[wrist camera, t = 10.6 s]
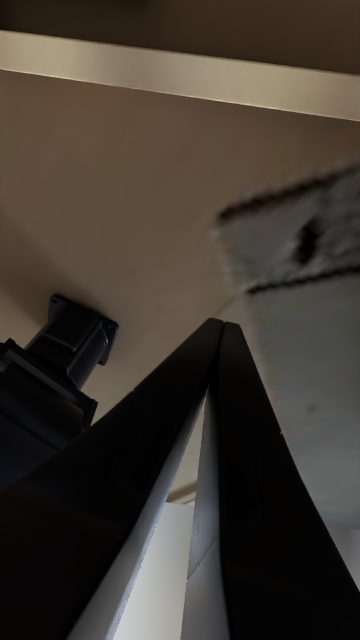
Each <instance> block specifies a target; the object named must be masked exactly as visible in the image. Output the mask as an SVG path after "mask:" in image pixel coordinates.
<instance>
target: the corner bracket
mask: <svg viewBox="0 0 360 640" xmlns="http://www.w3.org/2000/svg"><path fill="white" fill-rule="evenodd" d="M0 69H2V70H9V71H16V72H23V73H30V74H37V75H43V76H50V77H57V78H64V79H71V80H78V81H85V82H92V83H98V84H105V85H112V86H119V87H126V88H133V89H140V90H147V91H153V92H160V93H167V94H174V95H181V96H188V97H195V98H202V99H208V100H215V101H222V102H229V103H236V104H243V105H250V106H257V107H263V108H270V109H277V110H284V111H291V112H298V113H305V114H312V115H318V116H325V117H332V118H339V119H346V120H353V121H360V75H358V74H350V73H342V72H334V71H327V70H319V69H311V68H303V67H295V66H287V65H279V64H271V63H263V62H255V61H247V60H239V59H231V58H223V57H215V56H207V55H200V54H192V53H184V52H176V51H168V50H160V49H152V48H144V47H136V46H128V45H120V44H112V43H104V42H96V41H88V40H81V39H73V38H65V37H57V36H49V35H41V34H33V33H25V32H17V31H9V30H1V29H0Z"/></svg>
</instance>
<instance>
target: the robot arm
mask: <svg viewBox="0 0 360 640" xmlns="http://www.w3.org/2000/svg"><path fill="white" fill-rule="evenodd" d="M118 328H119V326H118V324H117V323H116V322H114V321H112V320H110V319H108V318H105V317H103V316H101V315H99V314H97V313H95V312H93V311H91V310H89V309H86V308H84V307H82V306H80V305H78V304H76V303H74V302H72V301H69V300H67V299H65V298H63V297H61V296H59V295H56V294H54V295H52V296H51V297H50V299H49V310H48V322H47V323H46V324H45V326H44V327H43V328H42V329H41V330H40V331H39V332H38V333H37V334H36V335H35V337H34V338H33V339H32V340H31V341H30V342H29V343H28V344H27V345H26V346H25V348H24V349H23V348H21V347H20V346H19V345H17V344H16V343H15V341H14V340H12V339H11V338H9V339H8V340H7V341H6V342H5V343H2V342H1V343H0V640H113V637H114V634H115V632H116V629H117V626H118V624H119V621H120V619H121V616H122V614H123V611H124V608H125V606H126V603H127V601H128V598H129V595H130V592H131V590H132V588H133V585H134V582H135V580H136V577H137V574H138V572H139V569H140V567H141V563H142V561H143V559H144V556H145V554H146V551H147V548H148V546H149V543H150V541H151V538H152V535H153V533H154V530H155V527H156V525H157V522H158V520H159V517H160V514H161V512H162V509H163V506H164V504H165V501H166V499H167V496H168V494H169V491H170V488H171V486H172V483H173V481H174V478H175V475H176V473H177V470H178V468H179V465H180V462H181V460H182V457H183V455H184V452H185V449H186V447H187V444H188V441H189V439H190V436H191V434H192V431H193V428H194V426H195V423H196V421H197V418H198V415H199V413H200V410H201V408H202V405H203V402H204V399H205V396H206V393H207V396H206V403H205V412H204V421H203V431H202V440H201V450H200V459H199V469H198V479H197V488H196V498H195V507H194V517H193V527H192V536H191V546H190V556H189V564H188V574H187V580H188V581H187V583H186V594H185V603H184V612H183V621H182V631H181V640H360V591H359V590H358V588H357V586H356V584H355V582H354V580H353V578H352V577H351V574H350V573H349V571H348V569H347V567H346V565H345V563H344V561H343V559H342V557H341V555H340V553H339V551H338V550H337V547H336V545H335V544H334V542H333V540H332V538H331V536H330V534H329V532H328V530H327V528H326V526H325V524H324V522H323V520H322V518H321V517H320V515H319V513H318V511H317V509H316V507H315V505H314V503H313V501H312V499H311V497H310V495H309V493H308V491H307V489H306V487H305V485H304V483H303V481H302V479H301V477H300V475H299V472H298V470H297V468H296V465H295V463H294V461H293V458H292V456H291V454H290V451H289V449H288V446H287V444H286V441H285V438H284V436H283V434H281V429H280V426H279V424H278V421H277V418H276V416H275V413H274V411H273V408H272V406H271V403H270V401H269V398H268V396H267V393H266V390H265V388H264V385H263V383H262V380H261V378H260V375H259V373H258V370H257V368H256V365H255V362H254V360H253V357H252V355H251V352H250V350H249V347H248V345H247V342H246V340H245V337H244V334H243V332H242V329H241V327H240V325H239V324H236V323H231V322H227V321H226V322H225V323H224V322H223V320H219V319H215V318H209V319H207V320H206V321H205V322H204V323H203V324H202V325H201V326H200V327H199V328H198V329H197V330H196V331H195V332H194V333H193V334H192V335H190V336H189V337H188V338H187V339H186V340H185V341H184V342H183V343H182V344H181V345H180V346H179V347H178V348H177V349H176V350H175V351H174V352H172V353H171V354H170V355H169V356H168V357H167V358H166V359H165V360H164V361H163V362H162V363H161V364H160V365H159V366H158V367H157V368H156V369H154V370H153V371H152V372H151V373H150V374H149V375H148V376H147V377H146V378H145V379H144V380H143V381H142V382H141V383H140V384H139V385H138V386H136V387H135V388H134V392H133V391H131V392H130V393H129V394H128V395H127V396H126V397H125V398H124V399H123V400H121V401H120V402H119V403H118V404H117V405H116V406H115V407H114V408H112V409H111V410H110V411H109V412H108V413H107V414H106V415H105V416H103V417H102V418H101V419H99V420H98V421H97V422H96V423H94V424H93V425H92V426H91V427H90V425H91V422H92V420H93V417H94V414H95V411H96V408H97V405H98V402H97V401H95V400H94V399H91V398H89V397H88V396H87V395H85V394H84V393H83V392H81V391H80V390H81V388H82V387H83V385H84V384H85V382H86V380H87V379H88V377H89V375H90V374H91V372H92V371H93V369H94V367H95V366H96V364H99V365H102V366H104V365H105V364H106V362H107V360H108V357H109V354H110V351H111V349H112V346H113V343H114V340H115V337H116V334H117V331H118ZM207 389H208V391H207Z"/></svg>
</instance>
